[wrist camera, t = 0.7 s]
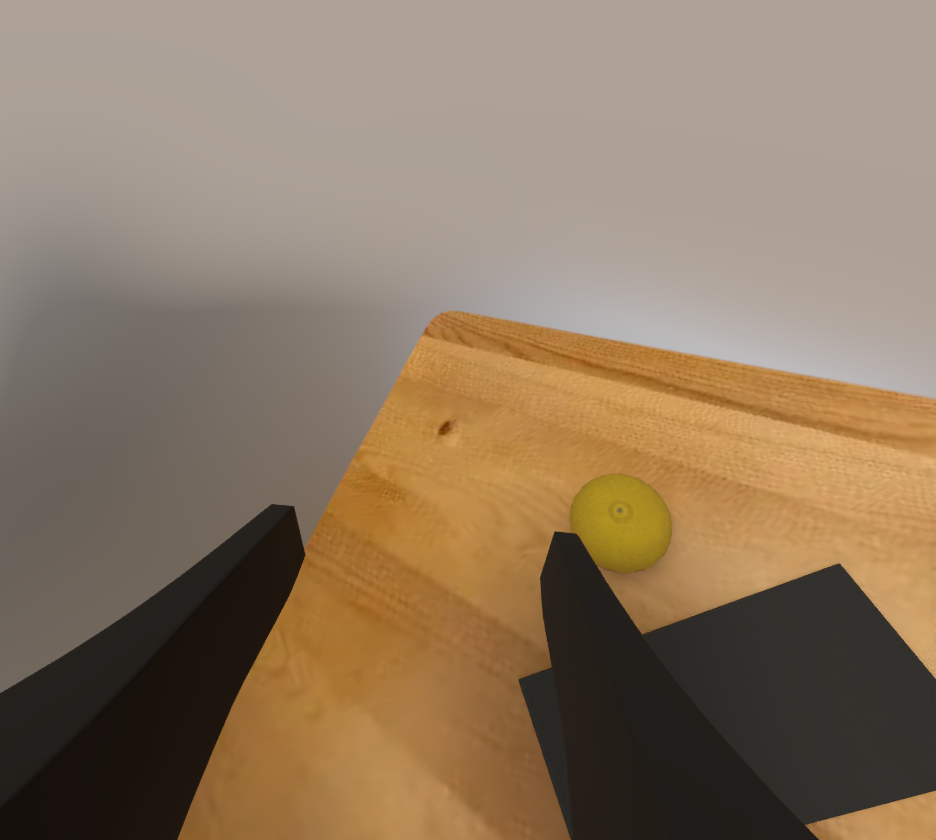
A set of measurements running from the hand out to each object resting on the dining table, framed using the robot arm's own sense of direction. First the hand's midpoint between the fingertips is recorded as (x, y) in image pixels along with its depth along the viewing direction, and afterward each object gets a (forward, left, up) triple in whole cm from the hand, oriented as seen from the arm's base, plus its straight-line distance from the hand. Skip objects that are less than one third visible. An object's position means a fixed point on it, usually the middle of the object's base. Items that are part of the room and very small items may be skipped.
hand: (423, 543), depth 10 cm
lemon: (0, -6, -18) cm, 19 cm away
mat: (-10, -6, -18) cm, 22 cm away
